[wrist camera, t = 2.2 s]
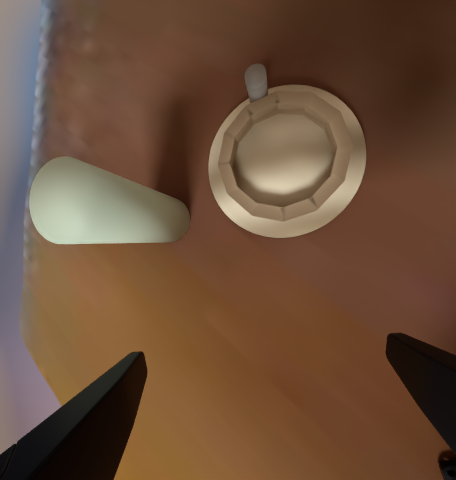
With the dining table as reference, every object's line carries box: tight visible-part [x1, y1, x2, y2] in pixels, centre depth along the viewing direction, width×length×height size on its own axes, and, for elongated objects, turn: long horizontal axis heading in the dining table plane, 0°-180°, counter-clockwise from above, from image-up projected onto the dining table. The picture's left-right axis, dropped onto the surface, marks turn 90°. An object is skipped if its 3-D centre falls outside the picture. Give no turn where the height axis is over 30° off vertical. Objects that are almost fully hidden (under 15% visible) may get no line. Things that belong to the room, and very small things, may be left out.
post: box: [29, 157, 190, 244], centre depth 16 cm, size 5×5×11 cm
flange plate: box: [209, 63, 366, 238], centre depth 17 cm, size 13×13×4 cm
